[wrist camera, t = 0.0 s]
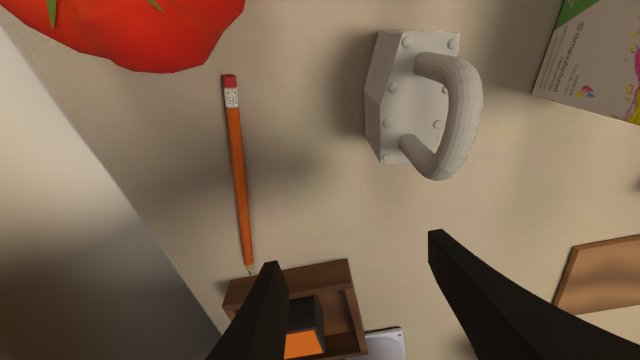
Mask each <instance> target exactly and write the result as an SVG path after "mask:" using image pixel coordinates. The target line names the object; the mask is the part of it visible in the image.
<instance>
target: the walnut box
mask: <svg viewBox="0 0 640 360" xmlns="http://www.w3.org/2000/svg"><path fill="white" fill-rule="evenodd" d="M282 273H283V275H284V278H285V280H286V282H287V285H288V287H289V300H290V299H296V298H301V297H307V296H312V295H317V296H318V298H319V301H320V304H321V307H322V310H323V317H324V335H325V353H319V354H313V355H307V356H301V357H295V358H289V359H284V360H338V359H345V358H351V357H357V356H363V355H368V348H367V343H366V338H365V333H364V328H363V324H362V319H361V315H360V311H359V306H358V302H357V298H356V293H355V289H354V285H353V281H352V276H351V272H350V268H349V263H348V259H342V260H337V261H332V262H327V263H321V264H316V265H311V266H305V267H300V268H295V269H289V270H284V271H282ZM256 278H257V276H252V277H247V278H242V279H237V280H231V281H229V285H228V288H227V291H226V295H225V298H224V301H223V304H222V308H223V309H224V311H225V312H226V314H227V316H228V317H229V319H230V320H231V322H232V320H233V319H234V317H235V315H236V314H237V312H238V311H239V309H240V307H241V306H242V304H243V302H244V300H245V298H246V297H247V295H248V293H249V291H250V290H251V288H252V286H253V284H254V282H255V280H256Z"/></svg>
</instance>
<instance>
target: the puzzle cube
mask: <svg viewBox="0 0 640 360" xmlns="http://www.w3.org/2000/svg"><path fill="white" fill-rule="evenodd" d="M319 353H325V335H324V317H323V310H322V307H321V304H320V301H319V298H318V296H317V295H312V296H307V297H301V298H296V299H290V300H289V315H288V325H287V335H286V344H285V354H284V359H289V358H295V357H301V356H307V355H313V354H319Z"/></svg>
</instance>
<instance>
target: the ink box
mask: <svg viewBox="0 0 640 360" xmlns="http://www.w3.org/2000/svg"><path fill="white" fill-rule="evenodd" d="M532 95H533V96H536V97H539V98H543V99H547V100H550V101H554V102H557V103H561V104H565V105H568V106H572V107H576V108H579V109H583V110H587V111H590V112H594V113H597V114H601V115H604V116H608V117H612V118H615V119H619V120H622V121H626V122H629V123H633V124H636V125H640V0H565V1H564V3H563V6H562V9H561V12H560V15H559V18H558V21H557V23H556V26H555V29H554V32H553V35H552V38H551V41H550V43H549V46H548V49H547V52H546V55H545V58H544V60H543V63H542V66H541V69H540V72H539V75H538V77H537V80H536V83H535V86H534V89H533V92H532Z"/></svg>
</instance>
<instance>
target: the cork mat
mask: <svg viewBox="0 0 640 360" xmlns="http://www.w3.org/2000/svg"><path fill="white" fill-rule="evenodd" d="M553 305H554V306H556V307H558V308H560V309H562V310H564V311H566V312H568V313H570V314H572V315H579V314H585V313H592V312H598V311H604V310H610V309H616V308H622V307H628V306H634V305H640V235H635V236H630V237H624V238H619V239H613V240H608V241H602V242H596V243H591V244H585V245H580V246H575V247H574V248H573V251H572V254H571V256H570V259H569V262H568V265H567V267H566V270H565V273H564V275H563V278H562V281H561V283H560V286H559V289H558V292H557V294H556V297H555V300H554V302H553Z"/></svg>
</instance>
